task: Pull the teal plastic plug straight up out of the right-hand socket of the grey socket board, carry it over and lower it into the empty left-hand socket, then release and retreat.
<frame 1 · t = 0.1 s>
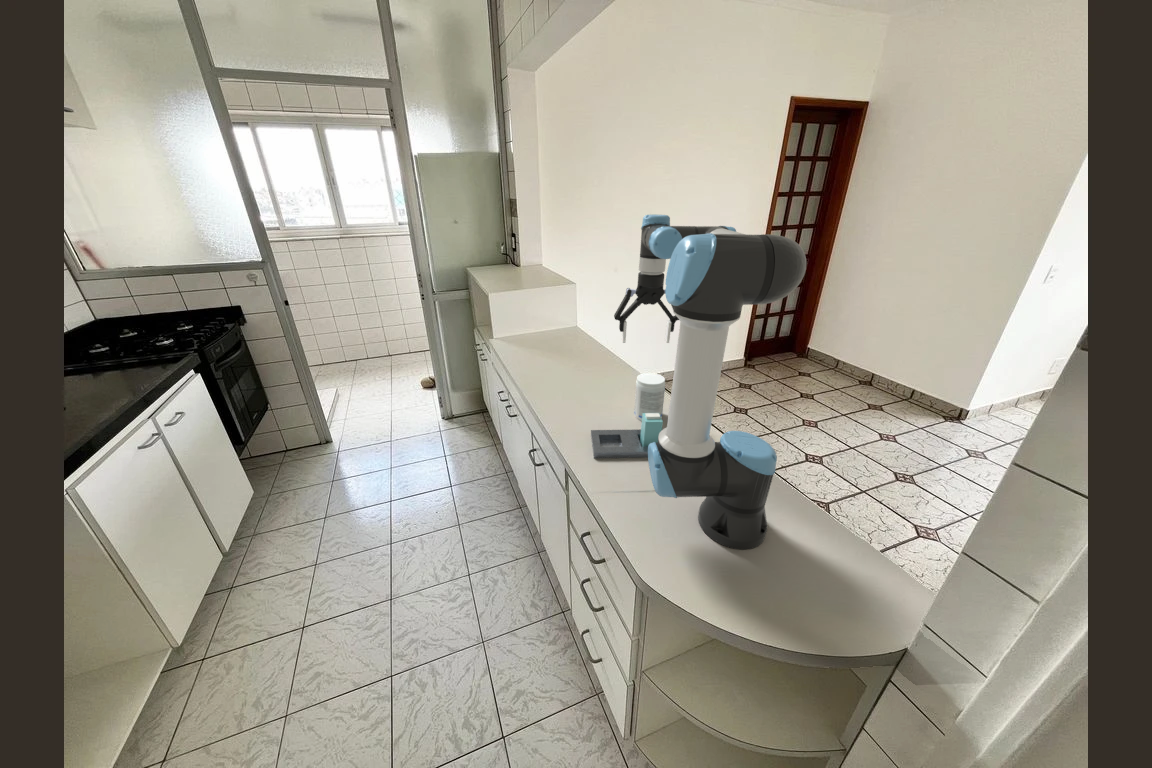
hand: (645, 341, 128), 28 cm above the counter, fingers open, 13 cm apart
supplement tub: (647, 417, 142), on the counter
grey socket board: (629, 447, 125), on the counter
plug: (649, 445, 125), resting on grey socket board
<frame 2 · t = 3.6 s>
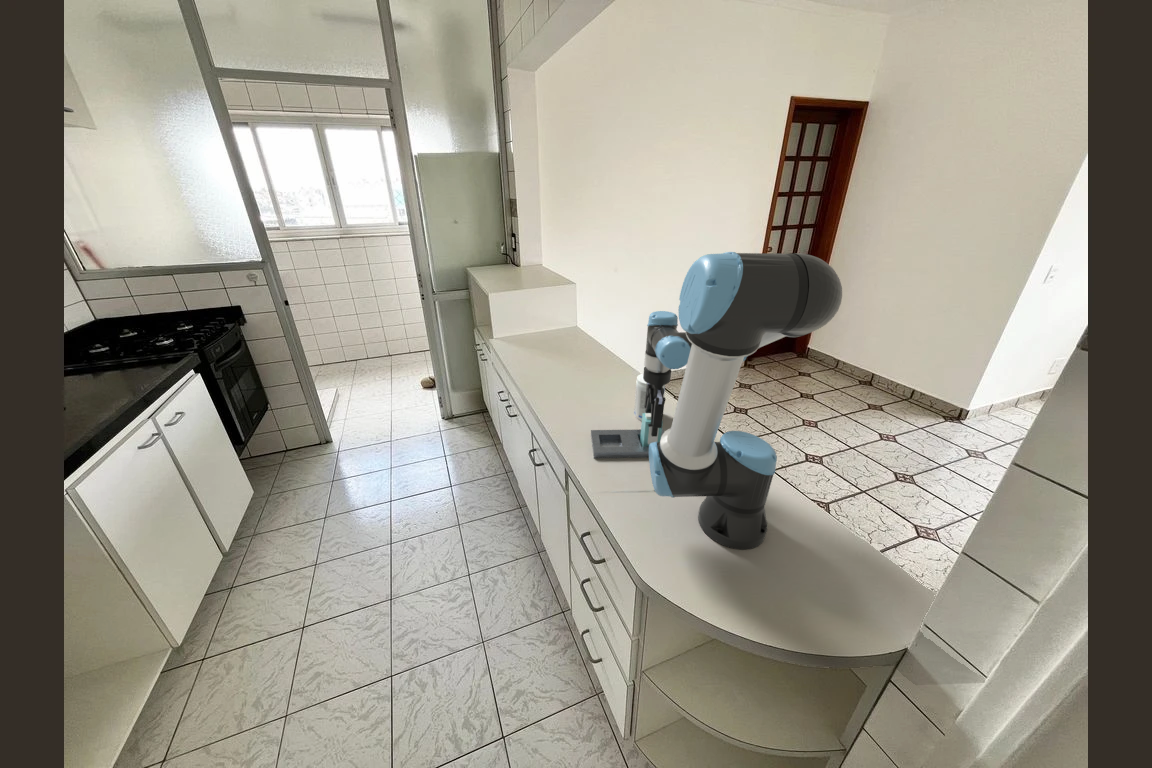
hand: (650, 438, 124), 3 cm above the counter, fingers closed on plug, 5 cm apart
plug: (649, 445, 125), point 1 cm above the counter, touching gripper, grey socket board
everything else where it was.
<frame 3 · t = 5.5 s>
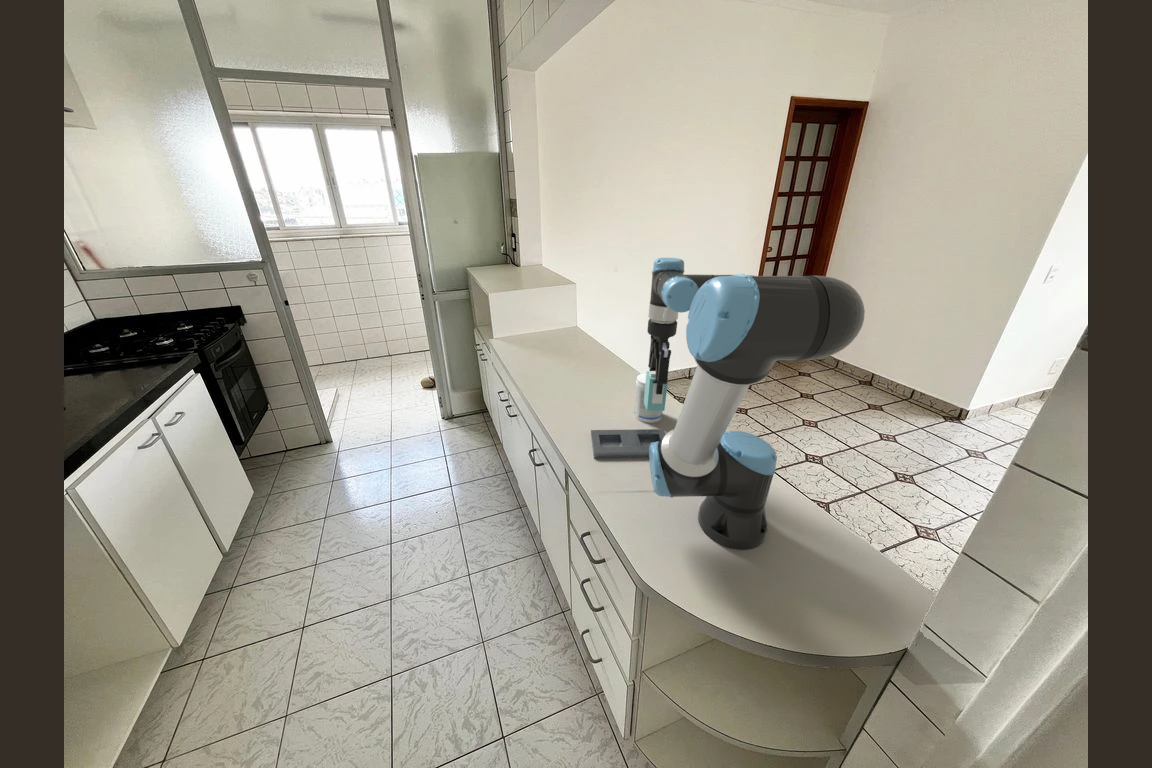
hand: (654, 398, 118), 17 cm above the counter, fingers closed on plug, 5 cm apart
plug: (653, 406, 119), point 14 cm above the counter, touching gripper
everything else where it was.
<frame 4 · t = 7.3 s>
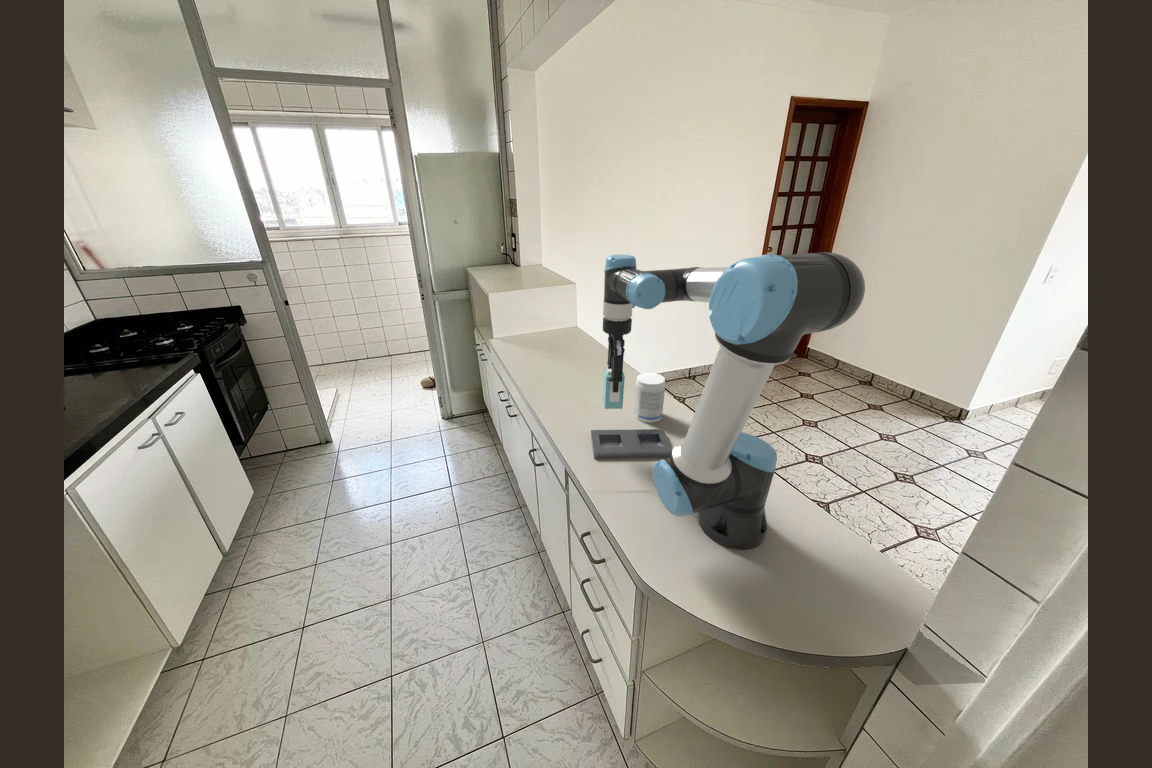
hand: (613, 396, 117), 18 cm above the counter, fingers closed on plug, 5 cm apart
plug: (612, 404, 118), point 15 cm above the counter, touching gripper
everything else where it was.
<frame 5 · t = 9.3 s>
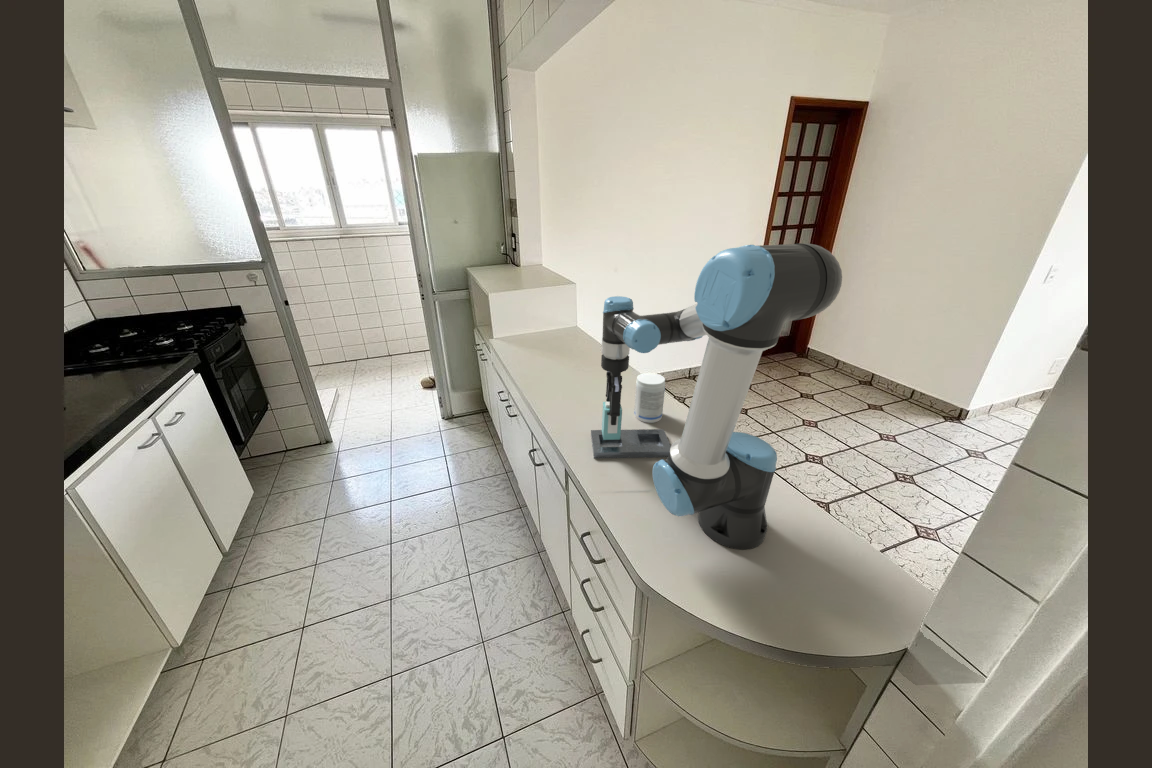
hand: (611, 427, 122), 7 cm above the counter, fingers closed on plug, 5 cm apart
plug: (610, 434, 123), point 4 cm above the counter, touching gripper
everything else where it was.
when the fingers open (4 cm above the counter, at t = 11.0 s): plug stays where it is, resting on grey socket board.
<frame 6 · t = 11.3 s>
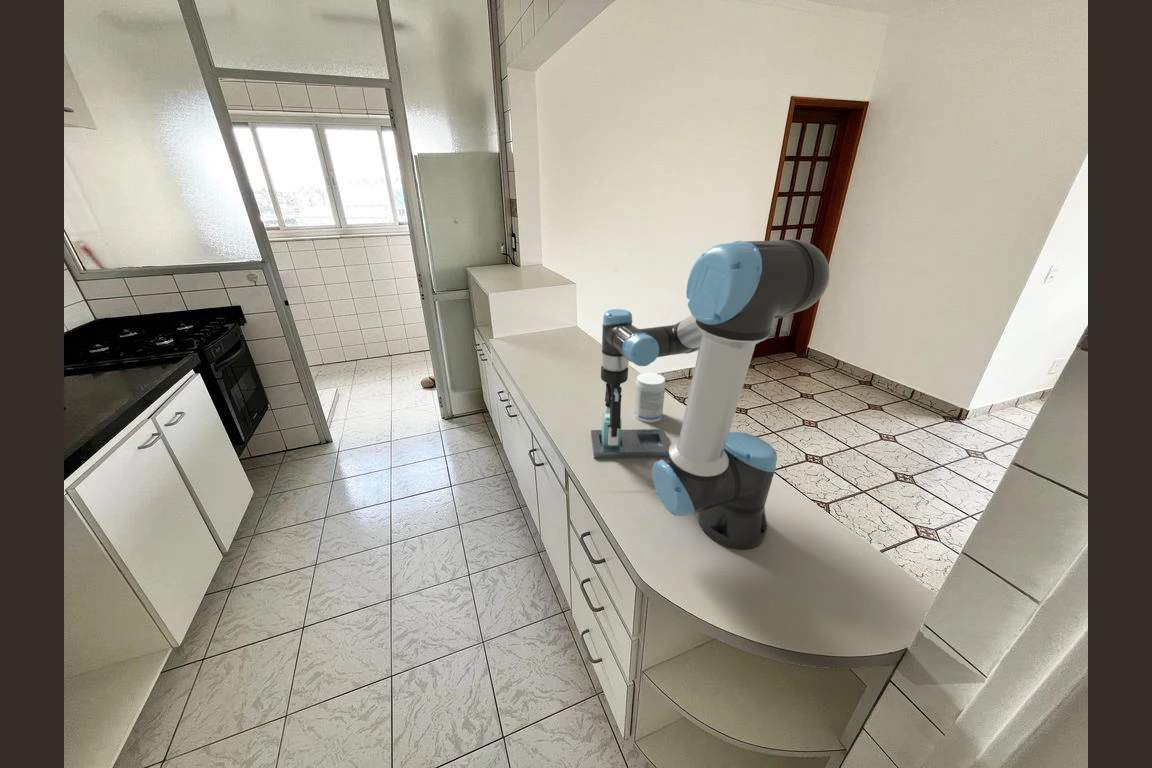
hand: (610, 435, 123), 5 cm above the counter, fingers open, 9 cm apart
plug: (610, 446, 124), resting on grey socket board
everything else where it was.
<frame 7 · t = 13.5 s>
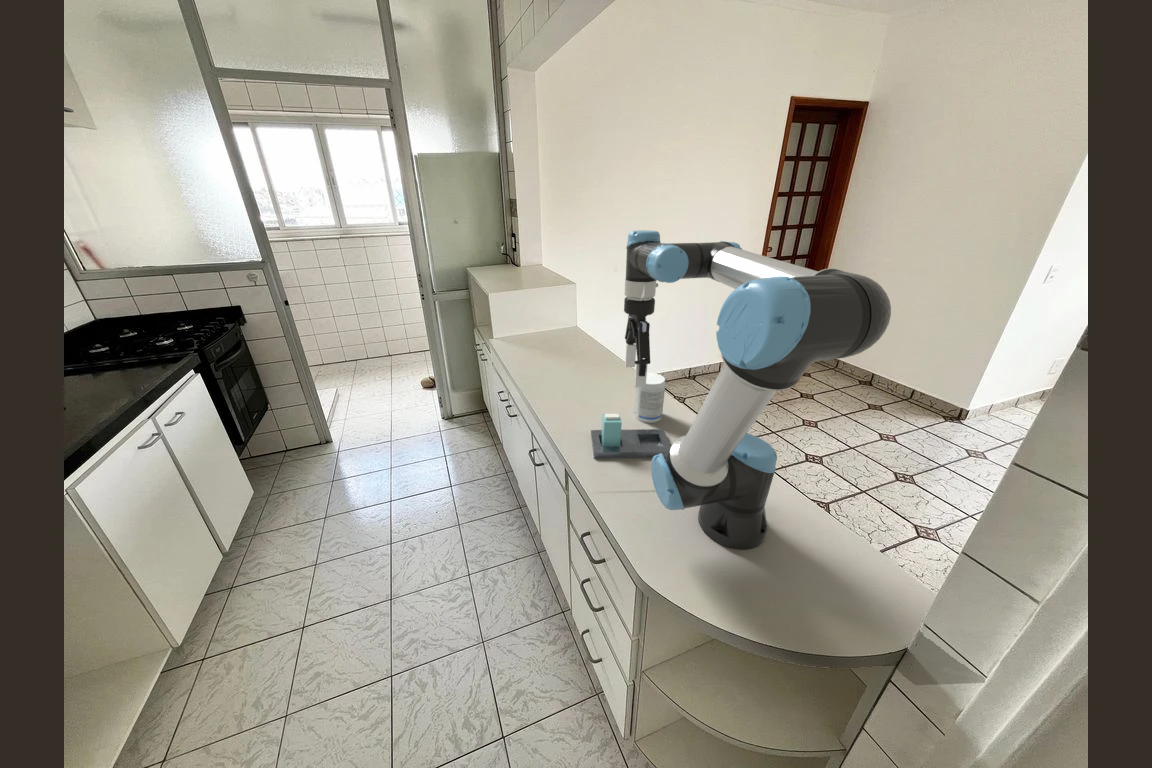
hand: (634, 376, 110), 26 cm above the counter, fingers open, 13 cm apart
nothing on the counter moved.
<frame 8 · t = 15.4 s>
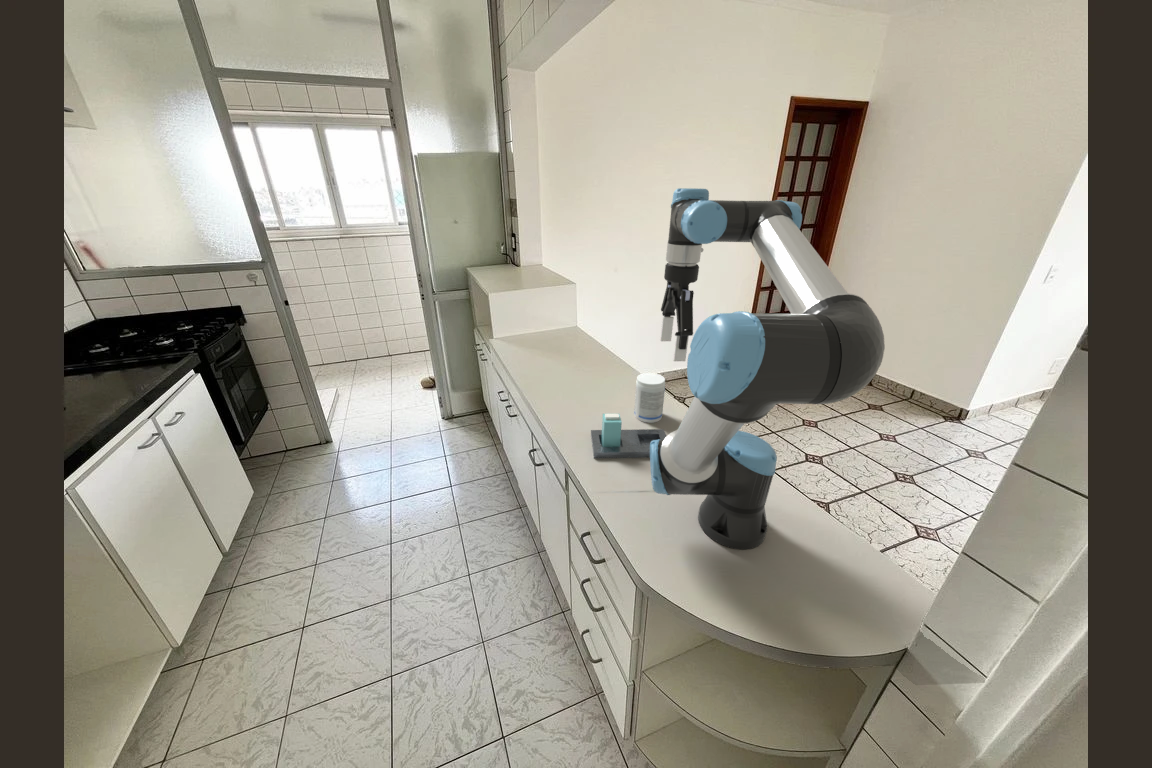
hand: (671, 350, 103), 35 cm above the counter, fingers open, 13 cm apart
nothing on the counter moved.
at the end: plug 0.0 cm from the target spot on the grey socket board, point 0.5 cm above the grey socket board's base; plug tilted 0°; the gripper is holding nothing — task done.
